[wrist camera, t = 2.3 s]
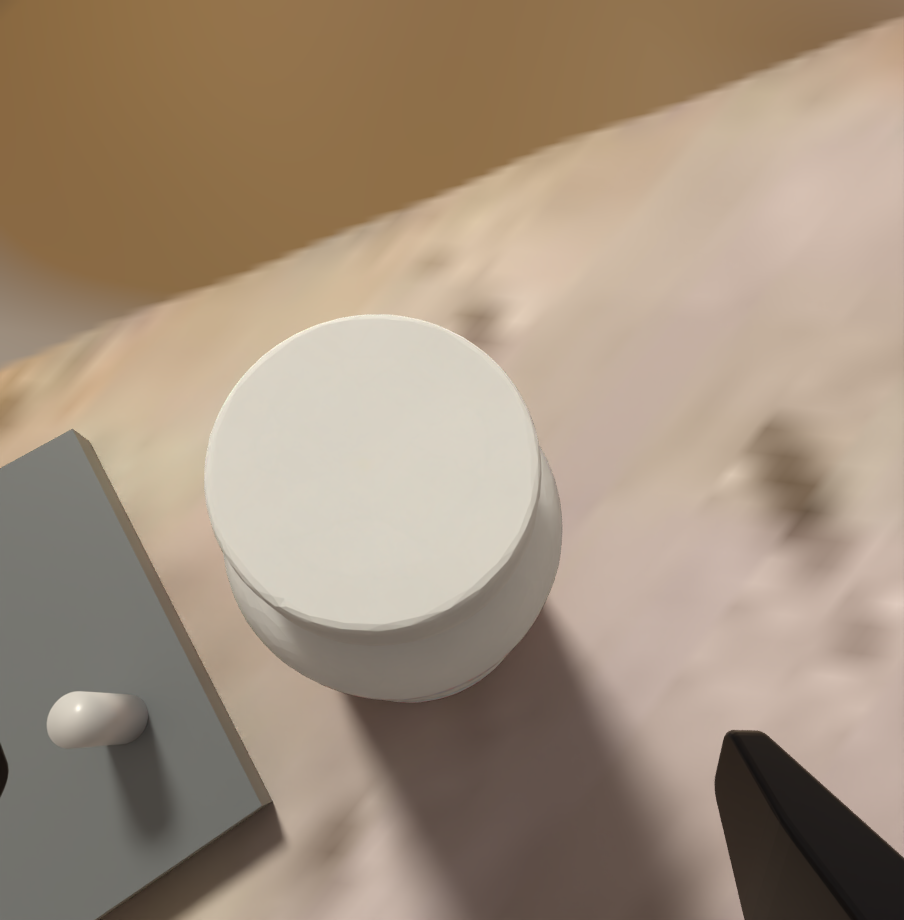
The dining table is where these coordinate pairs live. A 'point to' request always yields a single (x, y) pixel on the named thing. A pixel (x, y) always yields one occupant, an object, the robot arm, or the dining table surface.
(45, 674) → the pin tray
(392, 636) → the pill bottle
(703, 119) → the dining table surface
